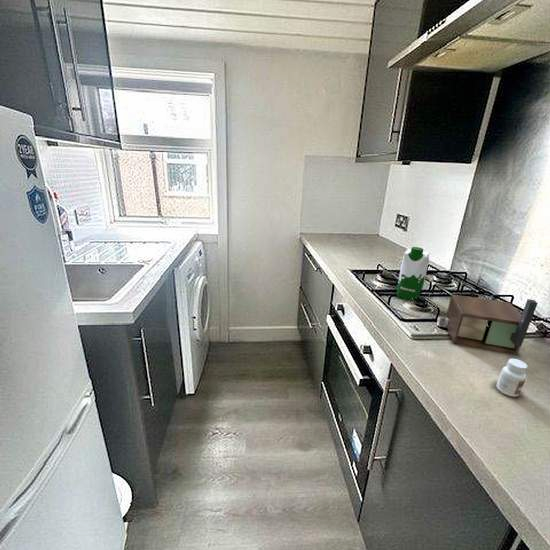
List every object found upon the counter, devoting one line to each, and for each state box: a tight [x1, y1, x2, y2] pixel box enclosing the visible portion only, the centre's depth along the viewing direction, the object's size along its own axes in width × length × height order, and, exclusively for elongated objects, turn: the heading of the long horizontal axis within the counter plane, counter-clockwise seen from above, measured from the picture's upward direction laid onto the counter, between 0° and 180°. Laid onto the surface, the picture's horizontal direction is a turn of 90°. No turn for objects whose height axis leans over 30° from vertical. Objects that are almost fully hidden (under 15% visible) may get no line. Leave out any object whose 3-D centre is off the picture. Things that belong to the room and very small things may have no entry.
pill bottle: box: [496, 358, 528, 397], centre depth 69 cm, size 4×4×8 cm
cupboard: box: [445, 293, 522, 356], centre depth 90 cm, size 16×14×10 cm
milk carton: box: [396, 246, 430, 303], centre depth 115 cm, size 9×9×20 cm
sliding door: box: [485, 298, 538, 348], centre depth 81 cm, size 7×4×16 cm, turn 72°
